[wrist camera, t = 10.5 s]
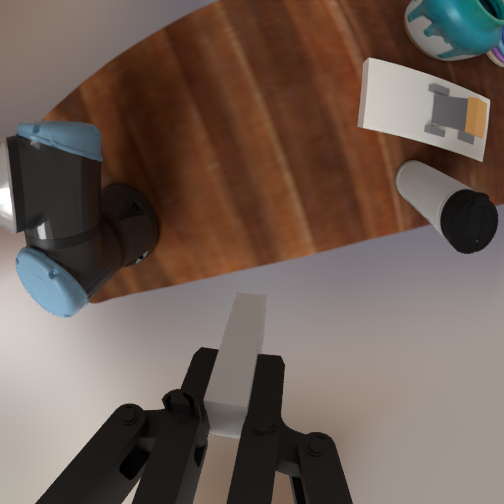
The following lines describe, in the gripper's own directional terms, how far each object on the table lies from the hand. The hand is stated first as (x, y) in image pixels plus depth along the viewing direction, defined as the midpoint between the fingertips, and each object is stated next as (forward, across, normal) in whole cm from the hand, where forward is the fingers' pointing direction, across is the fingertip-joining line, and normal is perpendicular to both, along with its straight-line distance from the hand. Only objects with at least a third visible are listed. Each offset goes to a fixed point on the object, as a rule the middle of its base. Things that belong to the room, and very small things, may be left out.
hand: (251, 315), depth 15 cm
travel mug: (+30, +20, +2) cm, 37 cm away
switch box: (+30, +21, +14) cm, 39 cm away
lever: (+25, +21, +14) cm, 35 cm away
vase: (+31, +22, +26) cm, 46 cm away
